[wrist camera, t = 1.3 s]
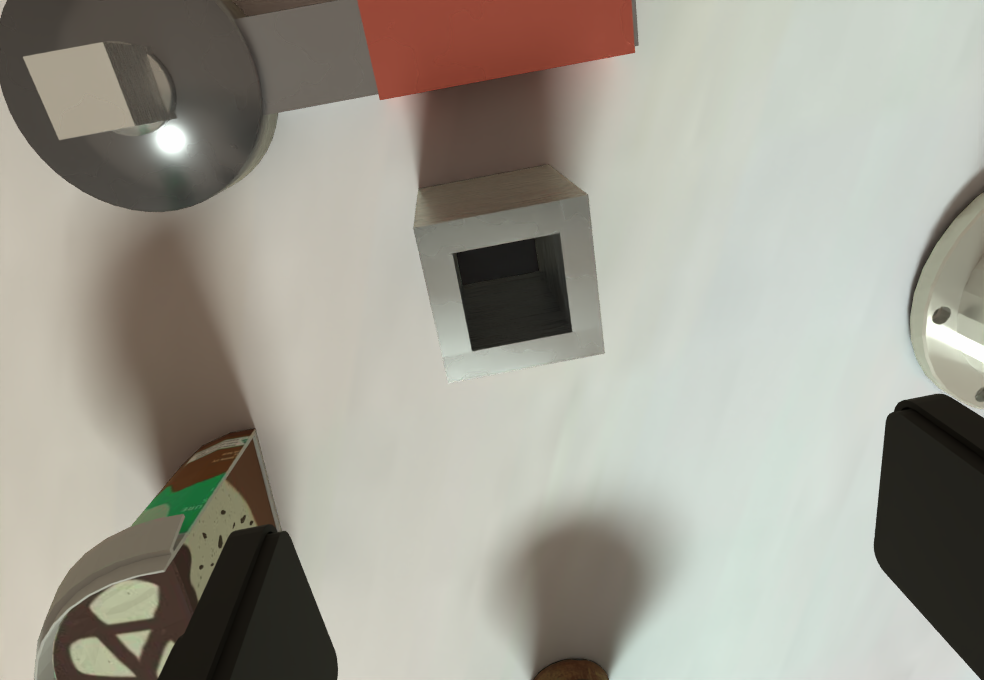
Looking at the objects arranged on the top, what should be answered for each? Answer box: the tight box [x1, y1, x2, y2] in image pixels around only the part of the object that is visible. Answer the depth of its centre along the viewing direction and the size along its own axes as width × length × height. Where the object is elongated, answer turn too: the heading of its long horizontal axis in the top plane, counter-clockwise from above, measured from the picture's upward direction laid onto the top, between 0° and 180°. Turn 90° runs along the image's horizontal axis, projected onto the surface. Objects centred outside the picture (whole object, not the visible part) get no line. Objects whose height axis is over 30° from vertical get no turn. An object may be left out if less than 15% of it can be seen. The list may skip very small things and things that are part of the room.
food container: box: [34, 428, 282, 680], centre depth 26 cm, size 12×6×10 cm, turn 4°
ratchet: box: [0, 0, 639, 212], centre depth 20 cm, size 21×8×6 cm, turn 100°
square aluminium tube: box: [413, 164, 605, 383], centre depth 23 cm, size 5×5×7 cm
